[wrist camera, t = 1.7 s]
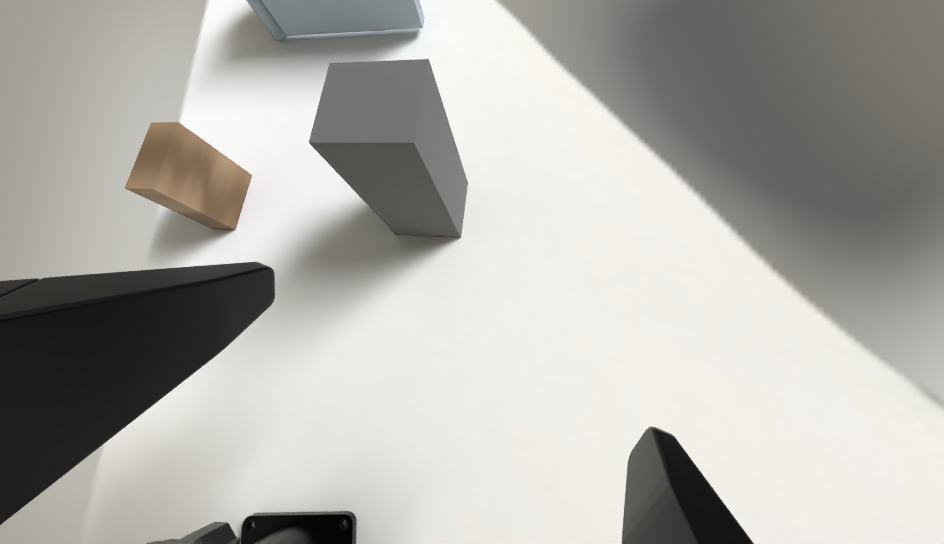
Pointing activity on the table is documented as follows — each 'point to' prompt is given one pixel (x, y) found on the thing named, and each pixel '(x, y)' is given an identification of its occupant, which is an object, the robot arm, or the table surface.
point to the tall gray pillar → (393, 144)
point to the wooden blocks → (189, 176)
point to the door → (336, 16)
